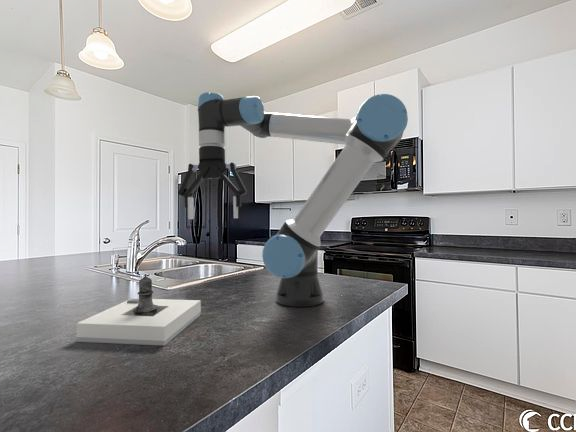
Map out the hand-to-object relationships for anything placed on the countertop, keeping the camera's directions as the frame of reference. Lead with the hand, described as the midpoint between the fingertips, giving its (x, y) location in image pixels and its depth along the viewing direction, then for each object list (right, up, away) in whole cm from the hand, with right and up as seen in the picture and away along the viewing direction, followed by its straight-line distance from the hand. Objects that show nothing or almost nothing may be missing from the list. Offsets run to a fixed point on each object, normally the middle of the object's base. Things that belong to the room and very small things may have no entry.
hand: (213, 218), depth 93 cm
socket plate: (-13, -26, -16) cm, 33 cm away
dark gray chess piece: (-13, -26, -16) cm, 33 cm away
